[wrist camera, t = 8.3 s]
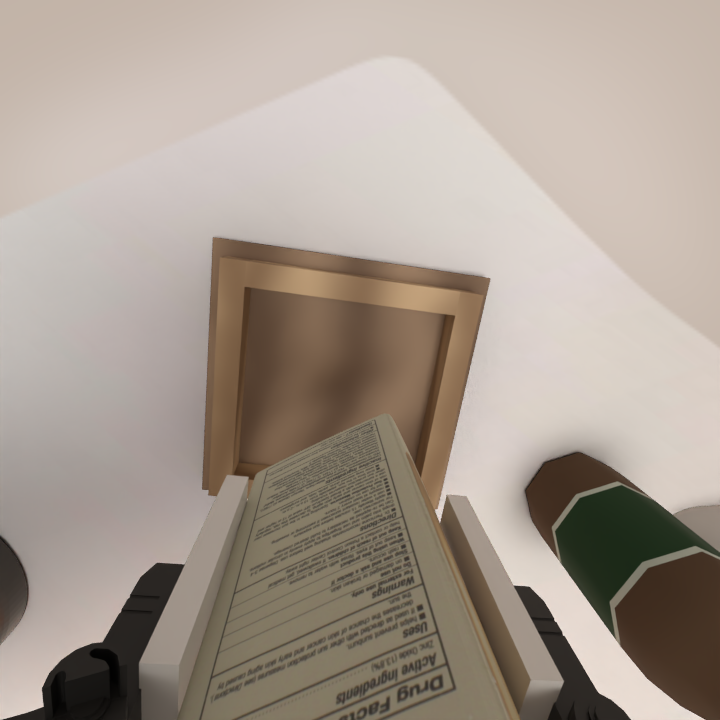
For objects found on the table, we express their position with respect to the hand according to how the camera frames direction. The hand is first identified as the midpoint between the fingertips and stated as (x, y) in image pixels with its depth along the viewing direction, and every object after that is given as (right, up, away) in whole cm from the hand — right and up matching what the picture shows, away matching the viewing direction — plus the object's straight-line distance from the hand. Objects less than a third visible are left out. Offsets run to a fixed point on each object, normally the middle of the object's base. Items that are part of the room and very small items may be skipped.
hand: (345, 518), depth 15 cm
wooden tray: (-1, +4, +14) cm, 15 cm away
